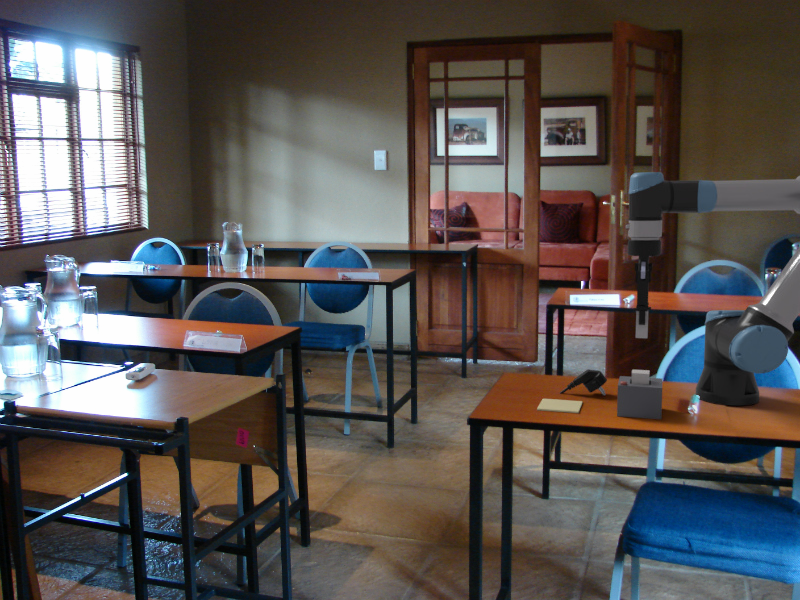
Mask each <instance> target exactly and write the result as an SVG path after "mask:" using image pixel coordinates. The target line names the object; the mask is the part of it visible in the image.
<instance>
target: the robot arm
mask: <svg viewBox="0 0 800 600" xmlns="http://www.w3.org/2000/svg"><path fill="white" fill-rule="evenodd" d="M742 211H743V212H746V211H748V212H749V211H750V212H751V211H753V212H755V211H794V213H796V214H797V215H800V175H798V176H797V177H796V178H794V179H793V178H791V179H747V180H745V179H744V180H743V179H741V180H740V179H739V180H736V179H735V180H732V179H731V180H702V179H696V180H695V179H694V180H693V179H691V180H690V179H688V180H666V179H665V178H664V173H662V172H661V171H660V172H659V171H655V172H654V171H653V172H652V171H649V172H648V171H647V172H643V171H642V172H634V173H632V175H630V179H629V189H628V224H626V225H625V229H628V232H627V236H628V238H630V239H628V241H627V254H628V256H632V257H638V262H635V263H634V271H635V282H636V283H637V289H636V307H633V312H635V314H636V315H635V339H648V336H649V335H648V333H649V311H651V310H652V306H649V304H650V303H649V287H650V285H649V284H650V283H651V281H652V271H653V263H652V262H650V257H658V256H661V254H662V241H661V240H660V238H662V236H663V235H662V234H663V214H673V213H674V214H701V213H711V212H742ZM799 315H800V246H799V247H798V248H797V250H796V251H795V253H794V254H793V255H792V257H791V258H790V259H789V261H788V262H787V263H786V264H785V266H784V268H783V269H782V270H781V272H780V273H779V275H778V276H777V277H776V278H775V280H774V282H773V283H772V284H771V286H770V287H769V288H768V289H767V291H766V293H765V294H764V295H763V297H762V298H761V300H760V301H759V302H758V303H756V304H751V305H750V304H749V305H748V306H747V307H746V308H745V309H743V310H741V309H736V310H734V309H725V310H723V309H718V310H716V309H715V310H710V311H707V313H706V315H705V322H704V326H705V328H704V352H703V353H704V357H703V369H702V371H701V374H700V376H699V379H698V382H697V384H696V387H695V396H696V395H699V396H700V399H699V400H701V401H704V402H706V403H711V404H716V405H724V406H750V405H755V404H757V403H759V402H760V390H759V387H758V383H757V380H756V376H755V374H767V373H770V372H772V371H774V370H776V369H777V368H779V367H780V366H781V365H782V364H783V363H784V362H785V360H786V358H787V356H788V353H789V346H788V345H789V343H788V342H789V341H790V339H791V338H792V337H793V335H794V333H795V330H794V327H793V323H794V322H795V321H796V319H797V317H798V316H799Z"/></svg>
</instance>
